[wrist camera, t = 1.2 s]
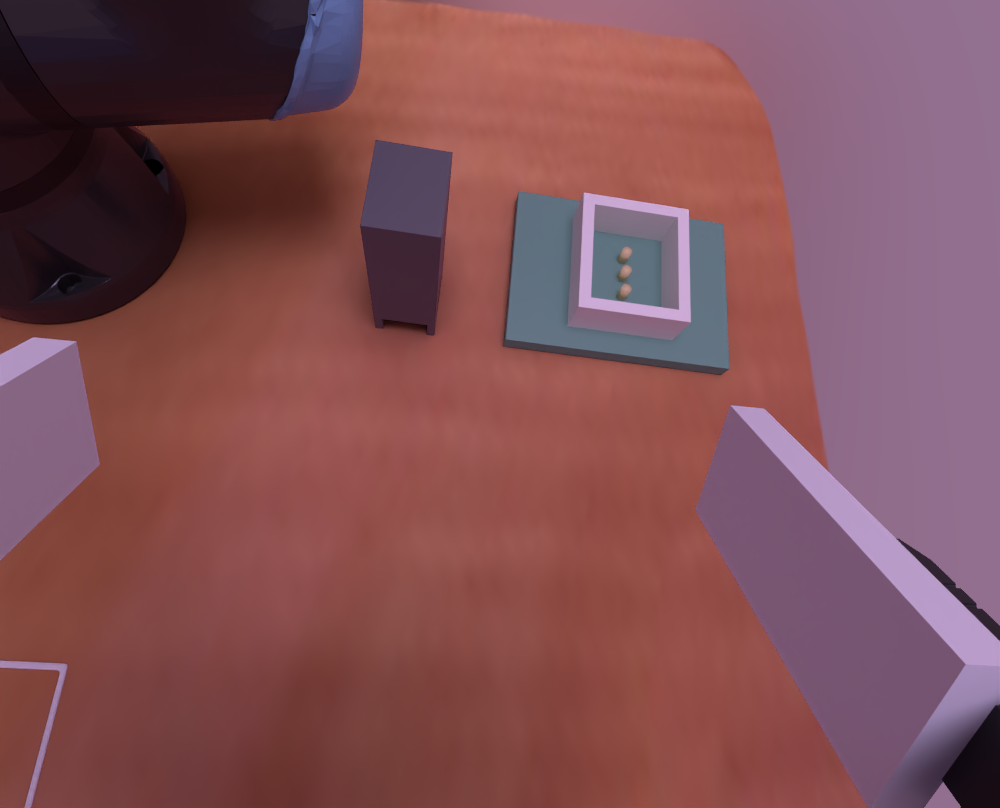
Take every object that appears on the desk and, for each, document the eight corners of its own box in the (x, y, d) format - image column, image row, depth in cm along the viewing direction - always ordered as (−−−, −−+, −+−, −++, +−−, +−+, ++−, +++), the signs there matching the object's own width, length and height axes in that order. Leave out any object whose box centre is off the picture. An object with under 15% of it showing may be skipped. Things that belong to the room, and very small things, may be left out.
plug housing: (375, 327, 40) (360, 225, 29) (386, 261, 42) (375, 140, 31) (434, 335, 41) (441, 237, 30) (442, 269, 43) (452, 152, 31)
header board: (503, 346, 41) (512, 320, 37) (516, 201, 45) (525, 163, 41) (720, 374, 43) (751, 352, 39) (716, 232, 47) (743, 199, 43)
